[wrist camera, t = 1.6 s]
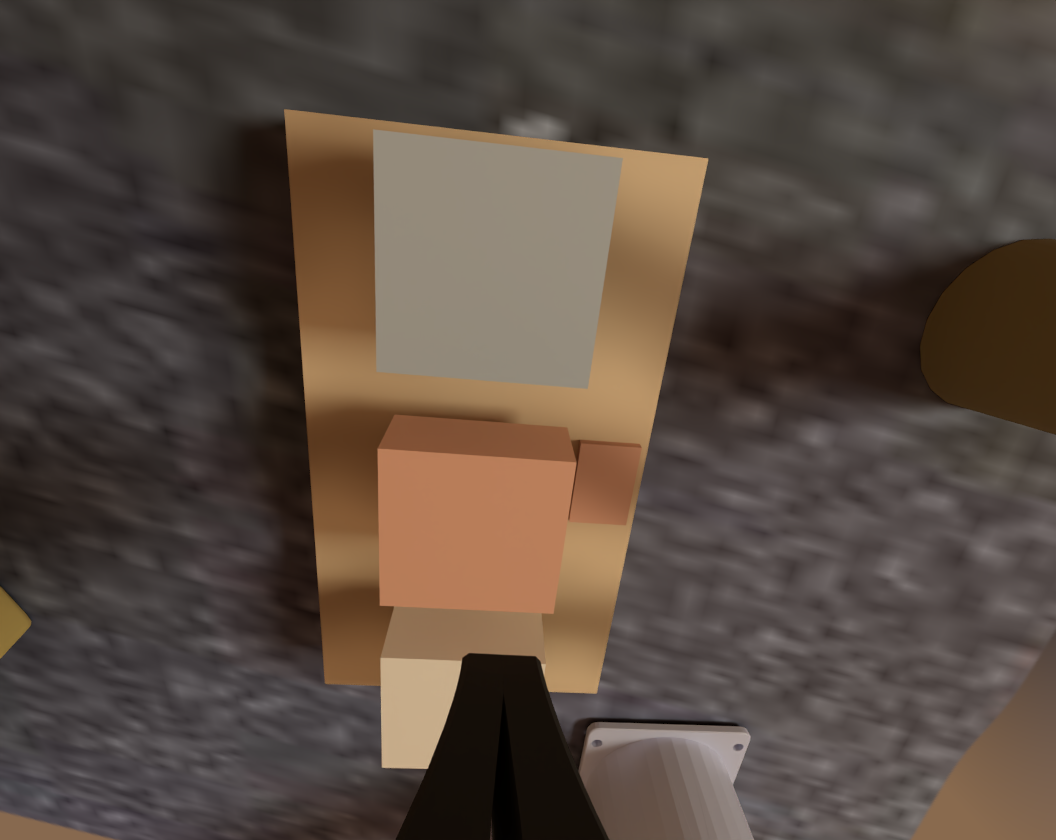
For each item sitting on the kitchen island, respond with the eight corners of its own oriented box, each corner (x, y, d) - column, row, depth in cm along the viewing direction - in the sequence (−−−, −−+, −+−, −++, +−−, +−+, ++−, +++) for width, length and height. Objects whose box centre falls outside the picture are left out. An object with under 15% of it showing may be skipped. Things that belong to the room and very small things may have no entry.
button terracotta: (547, 565, 17) (553, 613, 15) (394, 556, 17) (379, 605, 15) (567, 427, 15) (576, 462, 13) (394, 414, 15) (377, 448, 13)
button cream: (527, 713, 20) (529, 771, 18) (394, 708, 20) (382, 767, 18) (541, 612, 18) (545, 664, 16) (394, 605, 18) (380, 657, 16)
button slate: (576, 362, 15) (587, 388, 13) (394, 346, 14) (376, 371, 12) (604, 163, 13) (623, 158, 11) (394, 140, 12) (373, 129, 10)
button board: (589, 654, 24) (601, 722, 21) (339, 644, 23) (314, 713, 20) (685, 162, 16) (727, 155, 13) (310, 119, 15) (262, 100, 12)
